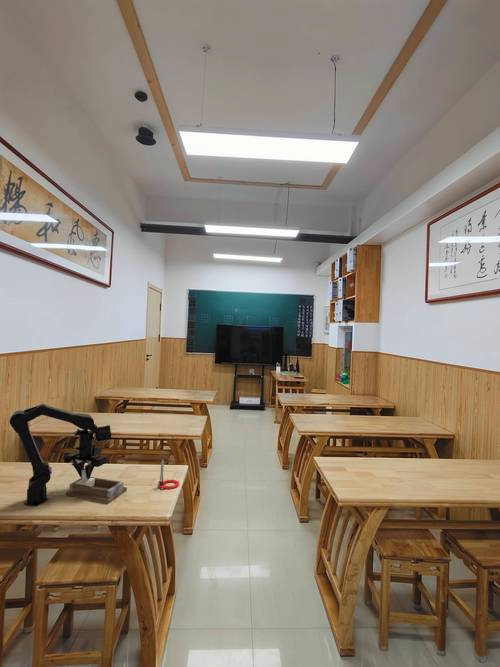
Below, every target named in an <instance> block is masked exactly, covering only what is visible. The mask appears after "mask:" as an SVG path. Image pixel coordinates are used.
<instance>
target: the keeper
mask: <svg viewBox="0 0 500 667" xmlns="http://www.w3.org/2000/svg"><path fill="white" fill-rule="evenodd" d="M94 478H95V477H94ZM94 478H89V479H87V477H86V471H85V467H84V469H82V479H81V480H80V481H78V482H76V483H75V484H79V485H85V486H91V487H93V486H94V485H95V479H94Z"/></svg>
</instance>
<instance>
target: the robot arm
mask: <svg viewBox="0 0 500 667" xmlns="http://www.w3.org/2000/svg"><path fill="white" fill-rule="evenodd" d="M41 416H45V417H48V418H52V419H56V420H60V421H63V422H67V423H70V424H72V425H74V426H75V427H78V428H77V429H76V430H75V431H74V432H73V434H74V436H78V446H77V447H76V450H77V451H78V452H75V451H73V452H70V453H68V454H66V455H65V456H64V457H63V463H67V464H69V463H71V462H72V463H71V466H73V467H74V469H75V470H76V472H77V474H78V475H79V478H82V469H84V468H85V471H86V477H87V479H89V478H90V477H92V474H93V471H94V470H95V468H99V467H101V466H103V465H105V464H107V463H108V457H107V456H106V455H102V452H103V447H101V446H100V447H99V446H96V444H94V441H96V443H101V442H109V441H111V440H112V432H111V431H112V430H111V425H110V424H108V425H103V426H102V425H101V426H97V424H95V421H94V418H93V417H92V415H90V414H88V413H76V412H71V411H66V410H63V409H60V408H57V407H53V406H50V405H47V404H46V403H40V404H37V405H35V406H32V407H29V408H26V409H24V410H16V411H14V412H13V413H12V414H11V416H10V418H9V425H10V426H11V427H12V430H14V432H15V433H16V434H17V435H18V436H19V438H20V440H21V442H22V445H23V448H24V450H25V452H26V455H27V457H28V459H29V461H30V463H31V467H32V476H31V477H30V478H29V479H28V485H27V486H28V487H27V489H26V501H25V502H23V505H25V506H26V505H27V506H31V507H37V506H39V505H41V504H43V503H45V502H46V501H49V499H50V498H49V497H47V495H48V494H47V491H48V490H47V489H48V488H47V484H48V483H49V482H50V480H51V478H52V477H51V476H52V474H53V472H52V469H53V468H52V467H51V466H50V463H49V460H48V459H47V460H46V461H44V460H43V458H42V457H41V456H42V455H41V454H40V450H39V449H38V446H37V444H36V442H35V439H34V436H33V434H32V432H31V429H30V422H31V421H33V420H35V419H37V418H38V417H41ZM97 455H98V456H97ZM86 462H87V464H86V465H85V463H86Z"/></svg>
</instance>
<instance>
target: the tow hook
mask: <svg viewBox="0 0 500 667" xmlns="http://www.w3.org/2000/svg"><path fill="white" fill-rule="evenodd" d="M164 466H165V465H164V458H161V464H160V475H159V481H158V482H157V484H158V486H159V489H160V490H161V491H163V490H173V489H177V488H178V487H179V486H180V481H178V480H176V479H166V480H164ZM168 483H173V484H174V485H166V484H168Z"/></svg>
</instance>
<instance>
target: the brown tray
mask: <svg viewBox="0 0 500 667" xmlns="http://www.w3.org/2000/svg"><path fill="white" fill-rule="evenodd" d="M90 478H94V479H95V485H94V486H93V487H91V486H85V485H79V484H75V483H76V482H78V481H80V480H81V479H82V478H81V477H79V479H76V480H75V481H73V482H70V483H69V490H68V491H65V497H69V498H74V499H81V500H85V501H90V502H96V503H102V504H108V505H109V504H111V502H113V501H115V500H116V499H118V498H119V497H120V496H122V495H124V493H126V492H127V491H128V487H126V486H124V485H125V484H124V482H123V481H119V480H113V479H105V478H99V477H92V476H90Z"/></svg>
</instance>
